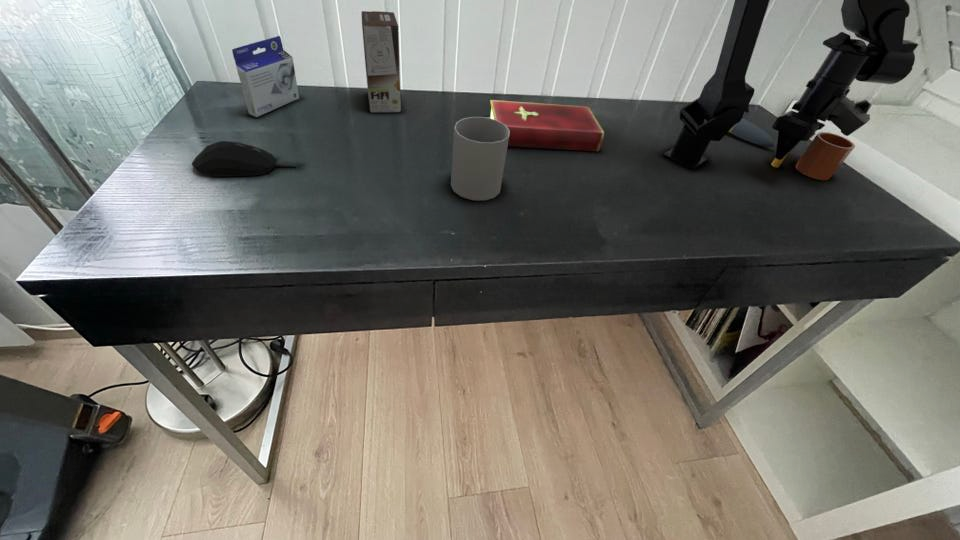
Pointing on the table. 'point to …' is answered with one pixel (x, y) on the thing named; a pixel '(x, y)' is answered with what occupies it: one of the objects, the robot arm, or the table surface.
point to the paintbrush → (751, 133)
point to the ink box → (266, 76)
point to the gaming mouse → (235, 160)
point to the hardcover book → (548, 125)
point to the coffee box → (382, 60)
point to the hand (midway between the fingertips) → (780, 156)
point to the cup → (479, 157)
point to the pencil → (777, 161)
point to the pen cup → (824, 155)
